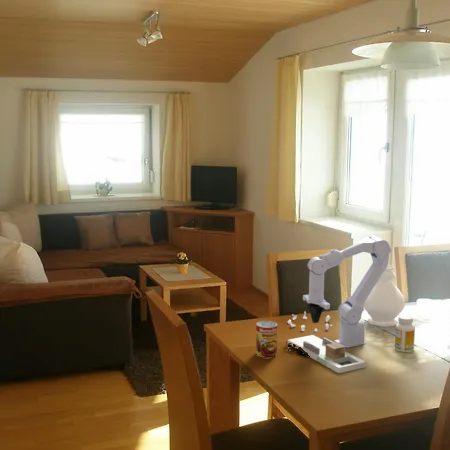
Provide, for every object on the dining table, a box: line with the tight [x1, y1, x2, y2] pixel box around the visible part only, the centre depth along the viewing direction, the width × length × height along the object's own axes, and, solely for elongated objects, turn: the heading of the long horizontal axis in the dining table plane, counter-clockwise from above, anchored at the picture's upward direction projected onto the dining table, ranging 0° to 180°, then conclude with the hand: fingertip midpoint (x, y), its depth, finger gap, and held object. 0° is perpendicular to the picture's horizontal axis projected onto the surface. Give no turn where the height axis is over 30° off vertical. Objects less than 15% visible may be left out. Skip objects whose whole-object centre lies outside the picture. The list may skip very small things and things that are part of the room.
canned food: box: [255, 320, 278, 358], centre depth 238 cm, size 8×8×12 cm
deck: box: [287, 334, 367, 374], centre depth 238 cm, size 12×32×4 cm, turn 28°
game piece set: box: [287, 311, 333, 333], centre depth 273 cm, size 19×20×4 cm
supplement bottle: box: [394, 314, 416, 353], centre depth 243 cm, size 7×7×13 cm
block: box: [325, 342, 346, 359], centre depth 232 cm, size 5×5×4 cm
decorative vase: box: [364, 264, 406, 328], centre depth 275 cm, size 18×18×25 cm
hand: (315, 322), depth 247 cm, fingers closed
